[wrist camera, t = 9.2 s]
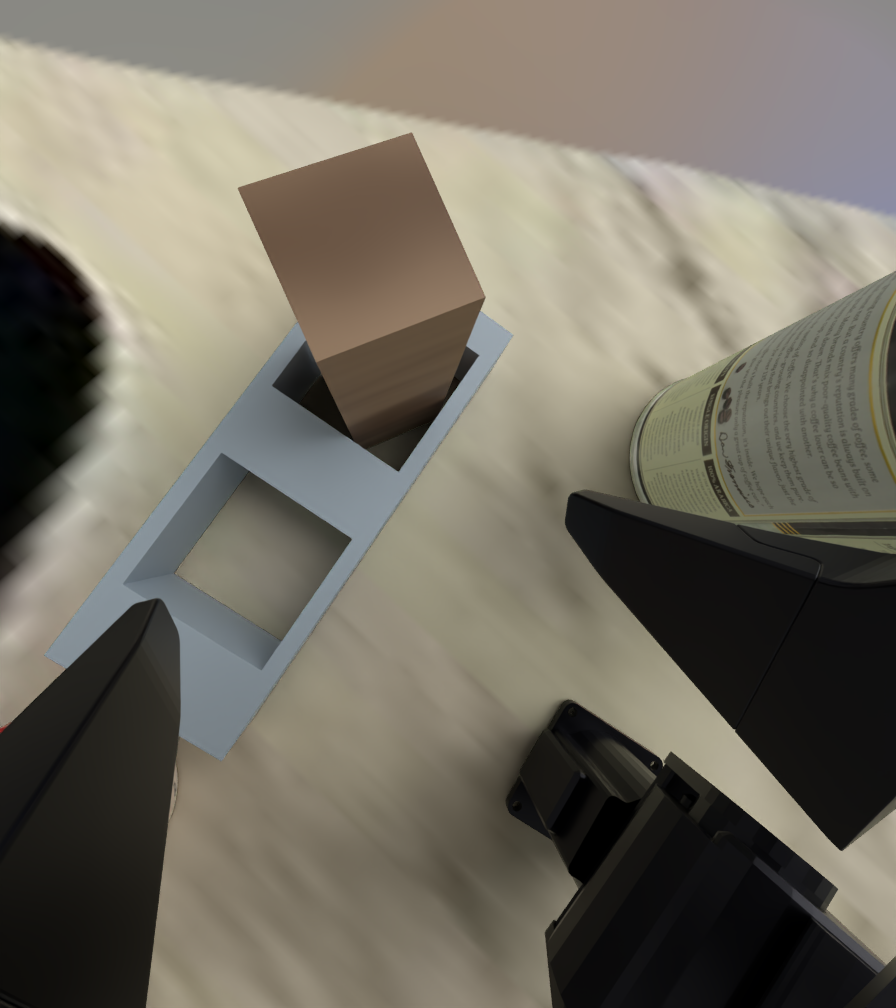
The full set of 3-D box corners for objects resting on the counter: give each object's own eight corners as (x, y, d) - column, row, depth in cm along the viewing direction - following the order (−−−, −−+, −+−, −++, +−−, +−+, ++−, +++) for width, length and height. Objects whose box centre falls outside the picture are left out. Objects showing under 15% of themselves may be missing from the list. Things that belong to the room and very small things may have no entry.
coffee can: (754, 354, 26) (1183, 151, 12) (809, 516, 26) (1308, 506, 12) (602, 403, 24) (882, 239, 10) (660, 574, 24) (1022, 642, 10)
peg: (436, 419, 23) (485, 297, 11) (359, 451, 22) (316, 362, 10) (402, 343, 23) (412, 132, 11) (324, 373, 22) (237, 187, 10)
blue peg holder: (372, 280, 23) (367, 229, 19) (493, 366, 24) (513, 334, 20) (111, 630, 21) (43, 655, 17) (253, 717, 21) (221, 761, 17)
